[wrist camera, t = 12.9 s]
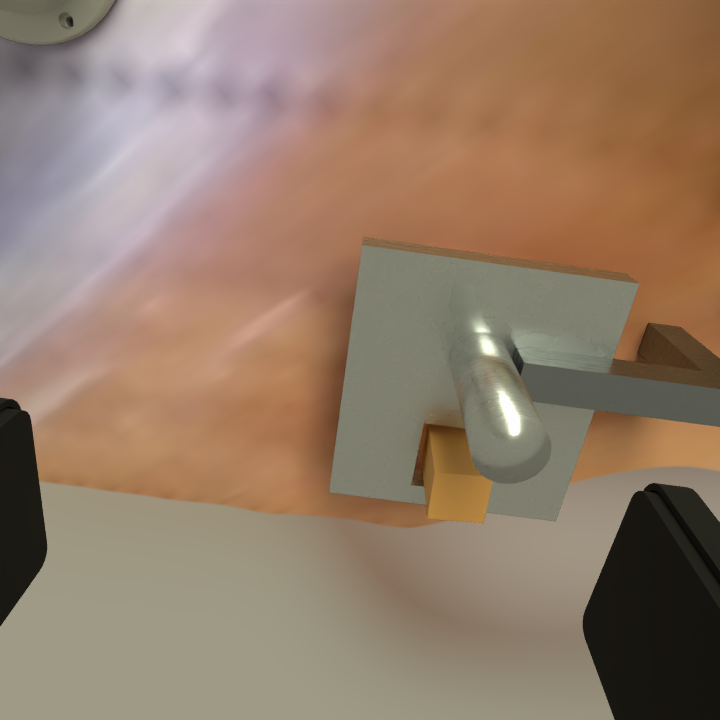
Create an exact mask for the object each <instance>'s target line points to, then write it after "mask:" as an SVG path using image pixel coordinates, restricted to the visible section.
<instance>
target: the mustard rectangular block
mask: <svg viewBox="0 0 720 720" xmlns="http://www.w3.org/2000/svg"><path fill="white" fill-rule="evenodd" d="M420 453H421V462H422V472H423V482H424V492H425V502H426V511H427V519H439V520H450V521H462V522H473V523H484V519H485V514H486V510H487V505H488V501H489V496H490V491H491V487H492V482H493V481H491V480H489V479H487V478H485V477H484V476H483V475H481V474H480V473H479V472H478V470H477V469H476V468H475V466H474V464H473V461H472V457H471V452H470V448H469V444H468V440H467V436H466V432H465V428H458V427H450V426H442V425H435V424H427V423H424V425H423V430H422V435H421V439H420Z"/></svg>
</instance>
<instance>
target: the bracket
mask: <svg viewBox="0 0 720 720" xmlns="http://www.w3.org/2000/svg"><path fill="white" fill-rule="evenodd" d="M638 353H639V354H640V355H641V356H642V357H643V358H644V359H645V360H646V361H647V362H648V363H649V364H647V363H640V362H632V361H625V360H618V359H610V358H603V357H596V356H588V355H581V354H573V353H566V352H559V351H551V350H544V349H536V348H529V347H522V346H515V350H514V353H513V357H512V360H513V362H514V364H515V366H516V368H517V370H518V373H519V375H520V377H521V379H522V381H523V383H524V385H525V387H526V389H527V392H528V394H529V396H530V398H531V400H532V402H537V403H545V404H552V405H560V406H567V407H575V408H582V409H590V410H598V411H605V412H613V413H620V414H628V415H635V416H643V417H650V418H658V419H665V420H673V421H680V422H688V423H695V424H703V425H710V426H718V427H720V358H718V357H717V356H716V355H715V354H713V353H712V352H711V351H710V350H708V349H707V348H706V347H705V346H703V345H702V344H701V343H700V342H698V341H697V340H696V339H695V338H694V337H692V336H691V335H690V334H689V333H687V332H686V331H685V330H684V329H682V328H681V327H676V326H668V325H661V324H654V323H649V324H648V326H647V329H646V332H645V334H644V337H643V340H642V342H641V345H640V348H639V351H638Z"/></svg>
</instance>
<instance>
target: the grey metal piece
mask: <svg viewBox="0 0 720 720" xmlns="http://www.w3.org/2000/svg"><path fill="white" fill-rule="evenodd" d="M638 286H639V283H638V282H637V281H635V280H634V279H633V278H631V277H630V276H629V275H628V274H626V273H619V272H612V271H605V270H598V269H590V268H583V267H576V266H569V265H562V264H554V263H547V262H540V261H533V260H526V259H518V258H511V257H504V256H497V255H490V254H482V253H475V252H468V251H461V250H454V249H446V248H439V247H432V246H425V245H418V244H410V243H403V242H396V241H389V240H382V239H374V238H367V237H363V242H362V250H361V257H360V265H359V272H358V280H357V287H356V295H355V302H354V309H353V317H352V324H351V332H350V339H349V347H348V354H347V362H346V369H345V377H344V384H343V391H342V399H341V406H340V414H339V421H338V428H337V436H336V443H335V451H334V458H333V466H332V473H331V481H330V488H329V492H330V493H338V494H346V495H354V496H361V497H369V498H377V499H385V500H393V501H400V502H408V503H416V504H424V505H426V502H425V492H424V482H423V472H422V469H415V463H416V459H417V454H418V449H419V444H420V439H421V435H422V430H423V425H424V423H427V424H435V425H442V426H450V427H458V428H465V432H466V436H467V440H468V444H469V448H470V452H471V457H472V461H473V464H474V466H475V468H476V469H477V470H478V472H479V473H480V474H481V475H483V476H484V477H485V478H487V479H489V480H491V481H493V482H492V487H491V491H490V496H489V501H488V505H487V510H486V513H494V514H502V515H509V516H518V517H525V518H533V519H542V520H548V521H556V519H557V516H558V514H559V511H560V508H561V505H562V502H563V499H564V497H565V494H566V491H567V488H568V485H569V482H570V479H571V477H572V474H573V471H574V468H575V465H576V462H577V460H578V457H579V454H580V451H581V448H582V445H583V443H584V440H585V437H586V434H587V431H588V428H589V425H590V423H591V420H592V417H593V414H594V411H595V410H590V409H582V408H575V407H567V406H560V405H552V404H545V403H537V402H532V400H531V398H530V396H529V394H528V392H527V389H526V387H525V385H524V383H523V381H522V379H521V377H520V375H519V373H518V370H517V368H516V366H515V364H514V362H513V360H512V357H513V353H514V350H515V346H522V347H529V348H536V349H544V350H551V351H559V352H566V353H573V354H581V355H588V356H596V357H603V358H610V359H613V357H614V354H615V352H616V349H617V346H618V343H619V340H620V337H621V334H622V332H623V329H624V326H625V323H626V320H627V317H628V315H629V312H630V309H631V306H632V303H633V300H634V298H635V295H636V292H637V289H638Z"/></svg>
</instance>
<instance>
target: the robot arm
mask: <svg viewBox="0 0 720 720" xmlns="http://www.w3.org/2000/svg"><path fill="white" fill-rule="evenodd" d="M114 1H115V0H0V37H2V38H4V39H8V40H12V41H16V42H20V43H26V44H35V45H48V44H60V43H63V42H66V41H69V40H72V39H76V38H78V37H79V36H81V35H83V34H84V33H86V32H88V31H89V30H91V29H92V28H93V27H94V26H95V25H96V24H97V23H98V22H99V21H100V20H101V19H102V18H103V17H104V16H105V15H106V14H107V12H108V11H109V9H110V8H111V6H112V4H113V3H114ZM71 18H73V21H74V23H73V27H72V26H71V25H70V19H71ZM46 554H47V539H46V532H45V524H44V517H43V509H42V501H41V493H40V486H39V478H38V470H37V463H36V455H35V447H34V440H33V432H32V424H31V419H30V415H29V414H28V412H26V411H23V410H21V408H20V406H19V404H18V403H17V402H16V401H15V400H13V399H6V398H0V626H1V625H2V623H3V622H4V620H5V619H6V617H7V616H8V615H9V613H10V612H11V610H12V609H13V608H14V606H15V605H16V603H17V602H18V601H19V599H20V598H21V596H22V595H23V594H24V592H25V591H26V589H27V588H28V587H29V585H30V584H31V582H32V581H33V579H34V578H35V577H36V575H37V574H38V572H39V571H40V569H41V568H42V566H43V563H44V561H45V558H46ZM583 632H584V636H585V640H586V643H587V645H588V648H589V651H590V653H591V656H592V659H593V662H594V664H595V667H596V670H597V672H598V675H599V678H600V681H601V683H602V686H603V689H604V692H605V694H606V697H607V700H608V702H609V705H610V708H611V711H612V713H613V716H614V719H615V720H720V522H719V521H718V520H717V518H716V517H715V516H714V515H713V513H712V512H711V511H710V509H709V508H708V507H707V505H706V504H705V503H704V502H703V500H702V499H701V498H700V497H699V495H698V494H697V493H696V492H695V491H694V490H693V489H690V488H687V487H680V486H672V485H665V484H657V483H652V484H649V485H648V486H647V487H646V488H645V489H644V491H638V492H636V493H635V494H634V495H633V497H632V498H631V501H630V503H629V506H628V508H627V510H626V513H625V516H624V518H623V520H622V523H621V525H620V528H619V530H618V532H617V535H616V537H615V539H614V542H613V544H612V547H611V549H610V552H609V554H608V556H607V559H606V561H605V564H604V566H603V568H602V571H601V573H600V576H599V578H598V581H597V583H596V585H595V588H594V590H593V593H592V595H591V597H590V600H589V602H588V605H587V607H586V609H585V612H584V616H583Z"/></svg>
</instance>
